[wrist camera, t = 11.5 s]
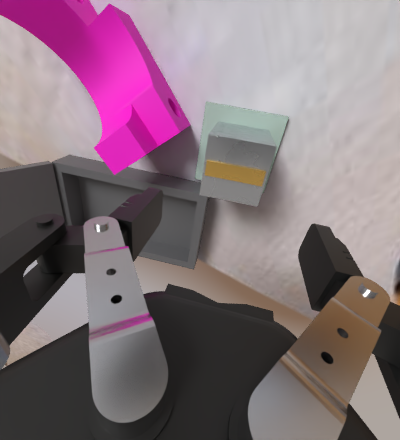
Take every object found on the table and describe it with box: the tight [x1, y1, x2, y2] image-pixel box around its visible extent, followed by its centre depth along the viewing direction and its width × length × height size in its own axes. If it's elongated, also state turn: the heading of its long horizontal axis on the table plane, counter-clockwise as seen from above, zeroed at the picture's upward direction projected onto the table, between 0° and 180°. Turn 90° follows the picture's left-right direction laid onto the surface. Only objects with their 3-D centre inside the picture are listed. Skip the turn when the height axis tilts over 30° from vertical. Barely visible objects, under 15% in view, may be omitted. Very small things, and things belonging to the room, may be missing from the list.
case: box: [0, 155, 209, 269], centre depth 23 cm, size 24×11×16 cm, turn 81°
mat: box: [195, 102, 289, 193], centre depth 24 cm, size 8×8×1 cm
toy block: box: [0, 0, 190, 175], centre depth 19 cm, size 15×6×8 cm, turn 31°
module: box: [199, 121, 277, 207], centre depth 20 cm, size 5×5×7 cm
